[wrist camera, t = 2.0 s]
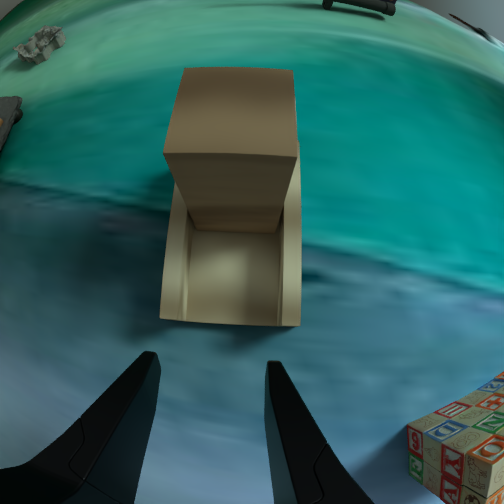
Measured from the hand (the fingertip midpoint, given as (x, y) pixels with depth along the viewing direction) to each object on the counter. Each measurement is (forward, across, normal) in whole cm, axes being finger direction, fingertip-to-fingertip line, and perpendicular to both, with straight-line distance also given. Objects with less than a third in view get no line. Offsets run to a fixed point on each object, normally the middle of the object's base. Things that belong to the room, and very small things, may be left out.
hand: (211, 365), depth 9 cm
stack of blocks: (+4, -27, +16) cm, 31 cm away
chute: (+18, 0, +2) cm, 18 cm away
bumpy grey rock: (+40, +37, -20) cm, 58 cm away
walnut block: (+17, 0, +1) cm, 17 cm away
